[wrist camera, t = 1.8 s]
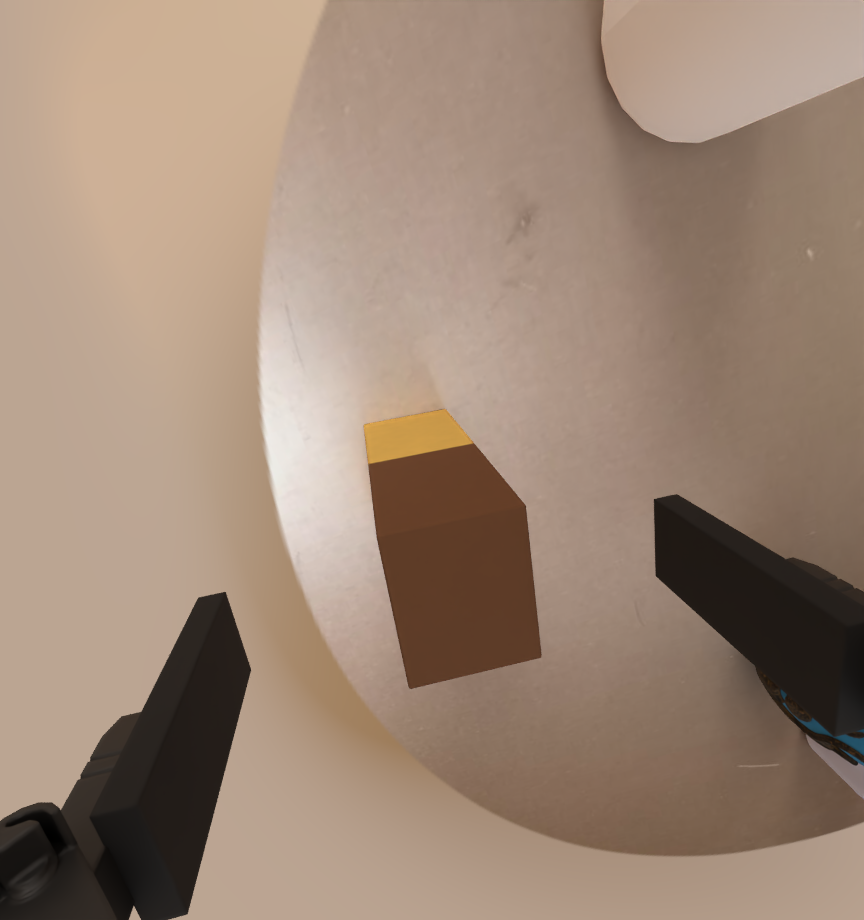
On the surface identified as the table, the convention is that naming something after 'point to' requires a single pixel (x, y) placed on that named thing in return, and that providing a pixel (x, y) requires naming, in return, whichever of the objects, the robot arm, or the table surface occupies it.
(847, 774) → the spray bottle
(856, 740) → the ornament
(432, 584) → the sponge
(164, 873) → the robot arm
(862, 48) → the white plastic cylinder
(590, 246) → the table surface
